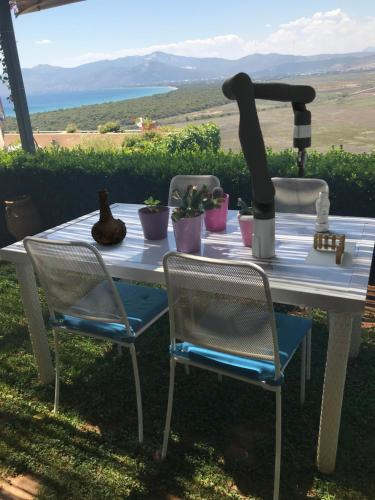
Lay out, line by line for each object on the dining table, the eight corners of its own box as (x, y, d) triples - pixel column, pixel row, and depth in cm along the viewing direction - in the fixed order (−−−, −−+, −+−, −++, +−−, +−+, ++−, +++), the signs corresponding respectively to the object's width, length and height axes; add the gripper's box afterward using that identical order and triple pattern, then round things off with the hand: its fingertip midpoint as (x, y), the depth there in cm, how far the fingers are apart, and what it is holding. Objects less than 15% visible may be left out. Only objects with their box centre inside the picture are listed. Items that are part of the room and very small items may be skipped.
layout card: (350, 268, 161) (350, 267, 161) (303, 264, 169) (303, 263, 169) (356, 243, 187) (356, 242, 187) (315, 240, 195) (315, 239, 195)
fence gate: (344, 249, 179) (345, 234, 176) (344, 250, 177) (345, 235, 175) (313, 247, 184) (314, 232, 181) (312, 248, 182) (313, 234, 180)
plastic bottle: (329, 233, 202) (331, 193, 195) (315, 233, 203) (316, 193, 197) (328, 229, 208) (330, 190, 201) (314, 230, 209) (315, 191, 203)
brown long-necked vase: (131, 245, 208) (124, 190, 198) (95, 251, 202) (86, 195, 193) (124, 235, 224) (117, 184, 214) (91, 241, 218) (82, 188, 209)
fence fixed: (340, 264, 164) (341, 246, 162) (335, 264, 165) (336, 246, 163) (343, 252, 177) (344, 235, 174) (339, 252, 178) (339, 235, 175)
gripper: (309, 137, 170) (308, 179, 176) (313, 134, 181) (312, 173, 187) (290, 137, 173) (290, 179, 179) (295, 134, 184) (295, 173, 190)
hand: (301, 176), depth 183 cm, fingers closed
